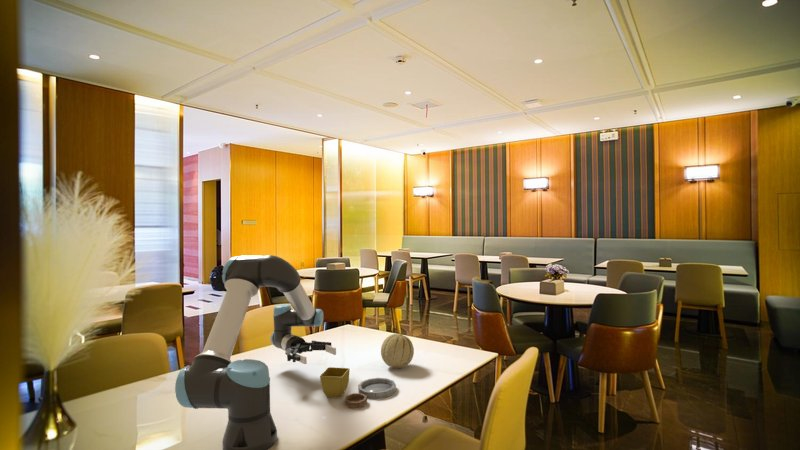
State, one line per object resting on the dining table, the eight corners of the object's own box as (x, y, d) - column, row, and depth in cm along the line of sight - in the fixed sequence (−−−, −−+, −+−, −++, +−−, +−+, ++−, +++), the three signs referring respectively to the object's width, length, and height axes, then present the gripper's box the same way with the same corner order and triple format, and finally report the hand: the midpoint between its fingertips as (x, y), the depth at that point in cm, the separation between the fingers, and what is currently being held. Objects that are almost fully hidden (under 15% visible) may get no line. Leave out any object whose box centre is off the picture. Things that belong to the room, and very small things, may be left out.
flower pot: (342, 401, 143) (342, 376, 143) (320, 400, 145) (319, 375, 145) (350, 391, 151) (350, 368, 151) (329, 390, 153) (328, 367, 153)
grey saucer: (375, 402, 142) (374, 396, 142) (351, 391, 152) (351, 385, 152) (402, 389, 151) (402, 384, 151) (378, 380, 162) (378, 375, 162)
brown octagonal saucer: (353, 410, 135) (353, 404, 135) (340, 404, 141) (340, 398, 141) (371, 403, 141) (370, 397, 141) (357, 397, 146) (357, 391, 146)
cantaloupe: (377, 372, 170) (376, 337, 170) (386, 360, 185) (385, 328, 185) (410, 374, 167) (409, 338, 167) (417, 362, 181) (416, 329, 181)
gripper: (318, 346, 179) (346, 356, 164) (266, 361, 162) (292, 374, 147) (318, 329, 179) (346, 338, 164) (266, 342, 162) (291, 354, 147)
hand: (320, 355), depth 155 cm, fingers open, 13 cm apart
